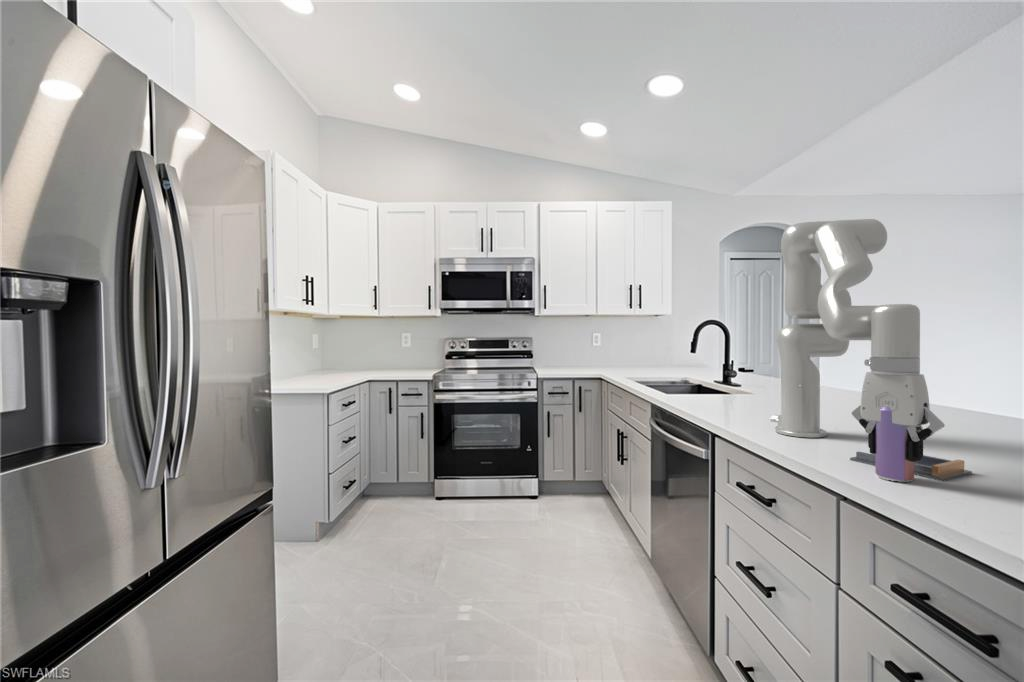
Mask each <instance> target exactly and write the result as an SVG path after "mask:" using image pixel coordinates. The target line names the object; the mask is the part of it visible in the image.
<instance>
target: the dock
mask: <svg viewBox="0 0 1024 682" xmlns="http://www.w3.org/2000/svg"><path fill="white" fill-rule="evenodd" d="M849 461H854V462H858V463H862V464H866V463H867V465H870V464H871V466H875V465H876V453H875V454H872V453H870V452H869V453H867V452H863V451H856V453H855V456H853V457H850V458H849ZM914 474H918V475H922V476H921V477H923V476H925V477H924V478H927V477H930V478H929V479H931V478H934V479H933V480H936V479H938V480H937V481H940V480H942V481H941V482H945V481H944V480H946V481H949V479H950V480H953V479H957V478H960V477H964V476H969V475H972V474H973V471H972V470H968V469H965V460H964V459H954V460H950V459H945V458H940V457H935V456H929V455H925V454H923V457H922V458H921V460H919V461H915V462H914ZM918 475H917V476H918ZM952 478H953V479H952Z"/></svg>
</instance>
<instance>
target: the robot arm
mask: <svg viewBox="0 0 1024 682" xmlns="http://www.w3.org/2000/svg"><path fill="white" fill-rule="evenodd" d="M780 240H781V241H780V250H781V251H780V252H781V257H782V261H783V264H784V269H785V285H784V289H785V291H784V311H785V314H786V315H787V316H788V317H789V318H791V319H796V320H797V319H798V320H821V323H791V324H787V325H785V326H783V327H782V328H781V329H780V330H779V331H778V332H777V339H776V340H777V348H778V353H779V358H780V394H781V396H780V406H781V407H780V408H781V409H780V415H777V414H773V415H772V416H771V417H770V418H769V420H770V422H772V423H777V426H775V429H774V430H775V432H776V433H778V434H780V435H786V436H790V437H796V438H797V437H798V438H807V439H808V438H809V439H810V438H811V439H812V438H813V439H814V438H815V439H816V438H824V437H826V436H827V431H826V430H824V429H822V428H821V423H820V422H821V381H820V380H821V374H820V371H819V369H818V367H817V365H816V364H815V363H814V362H813V361H812V360H811V358H831V357H832V358H833V357H837V358H838V357H841V356H843V355H844V354H846V353H847V351H848V349H849V346H850V341H870V345H871V347H870V355H871V356H870V357H869V359H864V366H866V367H869V369H870V371H867V372H866V373H865V376H864V380H863V384H862V390H861V396H860V397H861V398H860V405H859V406H858V407H857V408H854V409H853V411H851V415H852V416H853V417H854V419H855V420H857V421H858V422H859V425H861V426H862V427H863V428H864V430H865V433H866V434H868V436H867V437H868V439H867V441H868V442H867V444H868V445H867V447H868V448H869V454H875V453H876V422H880V421H881V410H880V409H883V407H889V408H890V410H891V411H892V410H893V411H892V423H894V424H896V425H900V426H907V430H908V432H909V434H910V436H911V440H910V441H908V460H909V461H911V462H915V461H919V460H921V458H922V457H923V455H924V441H926V440H927V439H928V438H929V437H931V436H932V435H934V434H935V433H936V432H938V431H940V430H942V429H944V427H945V426H946V425H945V422H943V421H942V420H941V419H940V418H939V417H938V416H937V415H935V413H933V411H932V410H931V409H930V397H929V390H928V386H927V382H926V377H925V375H924V374H923V373H921V311H920V308H919V307H918V306H917V305H916V304H911V303H896V304H892V303H891V304H881V305H852V298H851V295H850V292H849V290H848V289H850V288H852V287H854V286H857V285H859V284H861V283H862V282H864V281H865V280H867V279H868V278H869V277H870V275H871V274H872V273H873V268H874V267H873V264H872V262H871V259H870V257H869V255H874V254H878V253H880V252H881V251H883V249H884V248H885V246H886V244H887V242H888V231H887V229H886V227H885V225H884V224H883V223H882V222H881V221H879V220H878V219H875V218H861V219H860V218H859V219H840V220H839V219H838V220H826V221H825V220H822V221H821V220H820V221H805V222H798V223H794V224H792V225H790V226H788V227H787V228H785V230H784V232H783V234H782V236H781V239H780ZM814 254H815V255H816V254H819V256H820V259H821V261H822V264H823V267H824V270H825V272H826V274H827V277H828V278H827V279H826V280H825V282H824V283H823V284H822V282H821V281H822V269H821V266H820V263H819V262H818V261H817V259H815V257H814V256H813V255H814ZM883 405H890V406H883ZM927 424H929V425H928V426H927V427H925V428H923V425H927Z"/></svg>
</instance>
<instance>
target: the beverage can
mask: <svg viewBox="0 0 1024 682" xmlns="http://www.w3.org/2000/svg"><path fill="white" fill-rule="evenodd" d="M883 406H890V405H883ZM880 410H881V421H880V422H876V466H875V474H876V476H877V477H878V478H879V477H880V478H879V479H881V478H883V479H882V480H884V479H886V480H885V481H888V480H891V481H890V482H893V481H898V482H897V483H901V482H908V483H911V482H913V480H914V479H915V475H914V462H911V461H909V460H908V441H910V440H911V436H910V434H909V432H908V430H907V426H900V425H896V424H894V423H892V411H893V410H892V411H891V410H890V408H889V407H883V409H880ZM910 481H911V482H910Z"/></svg>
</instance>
